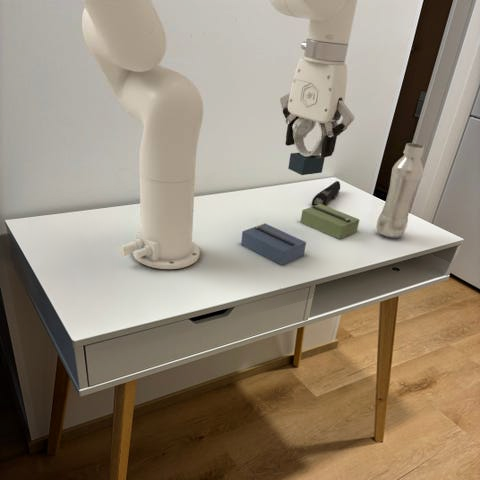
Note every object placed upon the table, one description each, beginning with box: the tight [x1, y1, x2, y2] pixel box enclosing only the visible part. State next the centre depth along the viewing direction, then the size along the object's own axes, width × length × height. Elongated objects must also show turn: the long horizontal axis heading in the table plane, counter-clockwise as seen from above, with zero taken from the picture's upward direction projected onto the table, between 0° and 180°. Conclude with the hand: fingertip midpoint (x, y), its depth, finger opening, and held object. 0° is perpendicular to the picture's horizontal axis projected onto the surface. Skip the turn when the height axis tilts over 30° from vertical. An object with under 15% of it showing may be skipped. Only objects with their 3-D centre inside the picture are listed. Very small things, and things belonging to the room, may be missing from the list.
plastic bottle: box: [376, 142, 425, 239], centre depth 106 cm, size 6×7×20 cm
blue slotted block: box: [240, 223, 307, 266], centre depth 98 cm, size 7×11×4 cm, turn 46°
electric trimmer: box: [311, 180, 341, 207], centre depth 126 cm, size 4×16×3 cm, turn 152°
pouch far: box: [300, 204, 361, 240], centre depth 111 cm, size 7×11×4 cm, turn 46°
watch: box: [287, 117, 327, 176], centre depth 98 cm, size 6×8×11 cm
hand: (308, 149), depth 98 cm, fingers closed on watch, 8 cm apart
